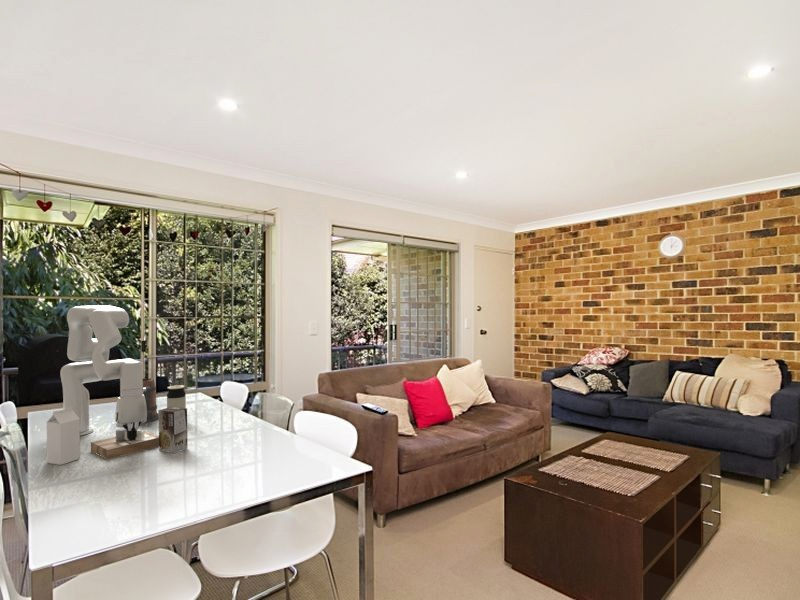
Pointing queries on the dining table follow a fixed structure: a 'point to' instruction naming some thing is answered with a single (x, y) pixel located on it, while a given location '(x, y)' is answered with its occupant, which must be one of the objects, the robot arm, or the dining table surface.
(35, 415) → the dining table surface
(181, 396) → the travel mug
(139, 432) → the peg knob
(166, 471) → the dining table surface
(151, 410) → the tankard
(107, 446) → the board
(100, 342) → the robot arm
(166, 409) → the coffee box
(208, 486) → the dining table surface
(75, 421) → the milk carton
